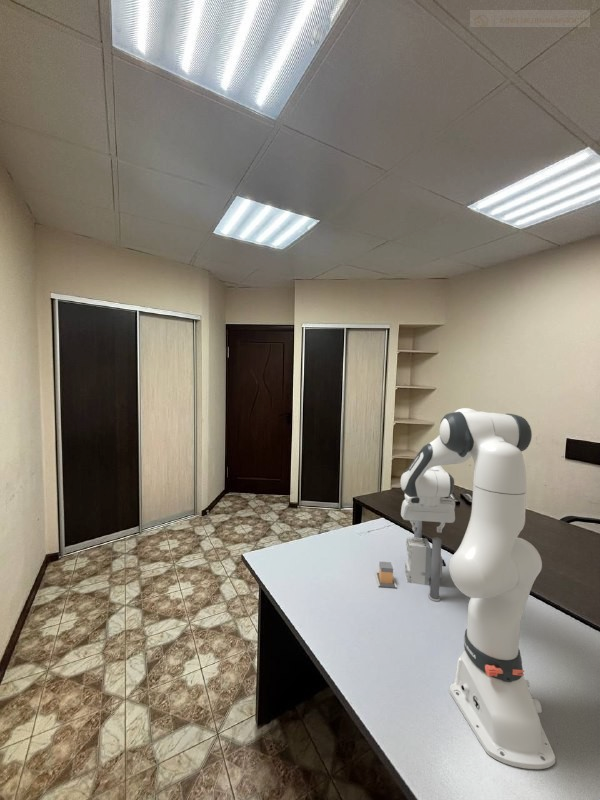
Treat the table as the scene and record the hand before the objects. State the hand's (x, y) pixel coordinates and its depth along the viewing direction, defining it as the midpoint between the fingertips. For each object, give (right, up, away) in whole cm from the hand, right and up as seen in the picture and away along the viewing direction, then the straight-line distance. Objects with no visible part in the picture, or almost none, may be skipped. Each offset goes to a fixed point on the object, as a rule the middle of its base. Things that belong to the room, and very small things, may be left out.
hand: (426, 531), depth 128 cm
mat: (-17, -19, -1) cm, 25 cm away
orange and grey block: (-17, -19, -1) cm, 25 cm away
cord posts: (0, -20, +1) cm, 20 cm away
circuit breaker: (0, -20, +1) cm, 20 cm away
